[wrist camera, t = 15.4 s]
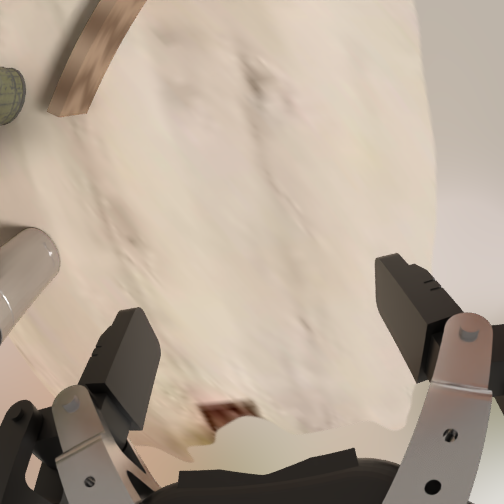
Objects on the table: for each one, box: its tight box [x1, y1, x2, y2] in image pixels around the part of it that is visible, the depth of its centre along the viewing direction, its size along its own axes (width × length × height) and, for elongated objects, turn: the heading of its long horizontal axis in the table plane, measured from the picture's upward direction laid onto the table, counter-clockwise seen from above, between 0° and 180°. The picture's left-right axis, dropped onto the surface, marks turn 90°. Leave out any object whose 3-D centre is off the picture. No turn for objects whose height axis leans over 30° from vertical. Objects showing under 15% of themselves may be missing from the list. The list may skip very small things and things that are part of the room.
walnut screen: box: [47, 0, 147, 117], centre depth 26 cm, size 22×2×7 cm, turn 150°
